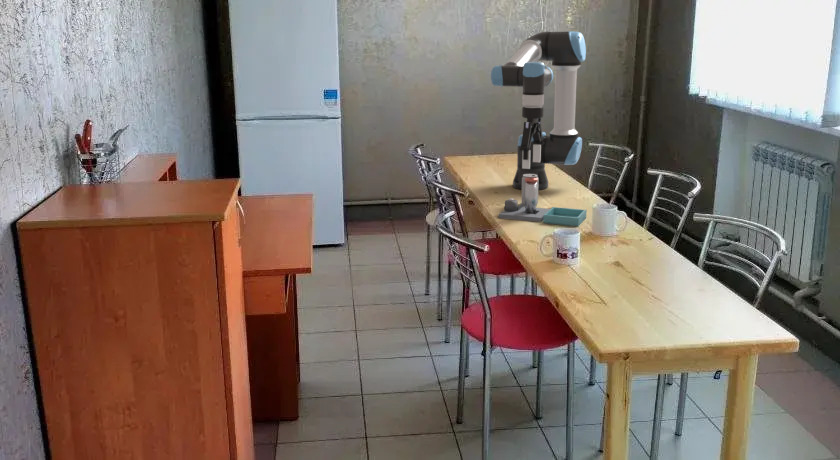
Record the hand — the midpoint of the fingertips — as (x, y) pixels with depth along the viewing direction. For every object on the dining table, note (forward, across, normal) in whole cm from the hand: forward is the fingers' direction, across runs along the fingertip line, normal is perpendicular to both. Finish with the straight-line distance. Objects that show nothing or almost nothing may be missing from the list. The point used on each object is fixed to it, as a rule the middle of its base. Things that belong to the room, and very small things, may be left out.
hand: (531, 165), depth 287 cm
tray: (+19, +2, +14) cm, 23 cm away
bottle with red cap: (+19, 0, 0) cm, 19 cm away
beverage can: (+19, -16, -5) cm, 26 cm away
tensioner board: (+19, 0, -2) cm, 19 cm away
